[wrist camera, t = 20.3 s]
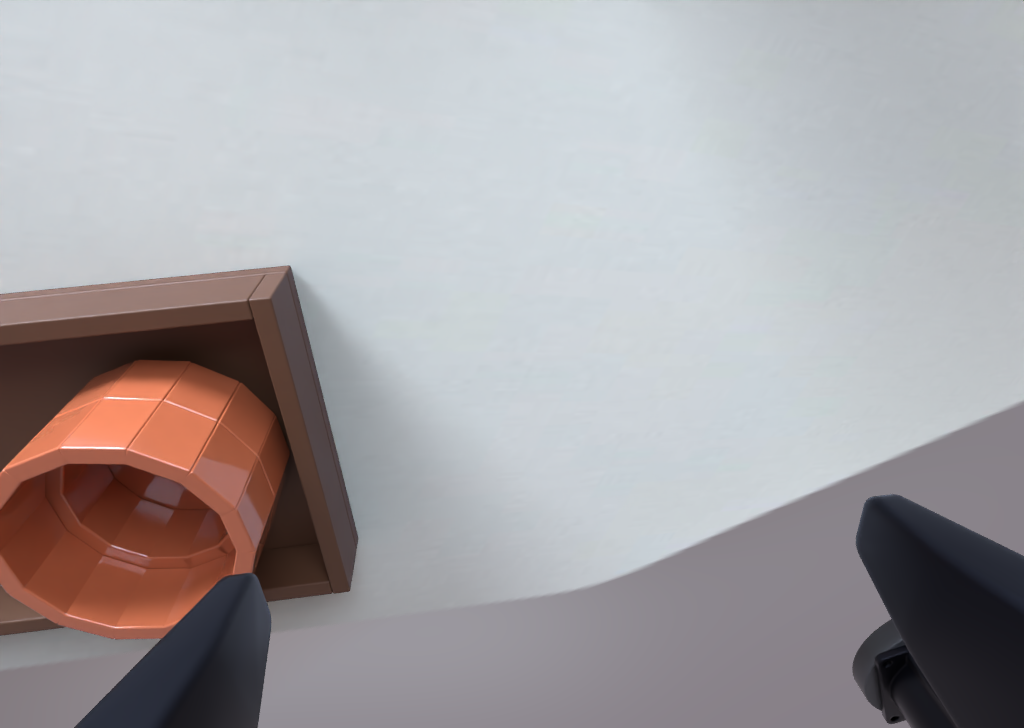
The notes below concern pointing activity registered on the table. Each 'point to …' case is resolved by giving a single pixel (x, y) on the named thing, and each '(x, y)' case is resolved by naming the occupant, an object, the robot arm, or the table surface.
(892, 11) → the table surface
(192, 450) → the terracotta flower pot
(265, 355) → the tray
